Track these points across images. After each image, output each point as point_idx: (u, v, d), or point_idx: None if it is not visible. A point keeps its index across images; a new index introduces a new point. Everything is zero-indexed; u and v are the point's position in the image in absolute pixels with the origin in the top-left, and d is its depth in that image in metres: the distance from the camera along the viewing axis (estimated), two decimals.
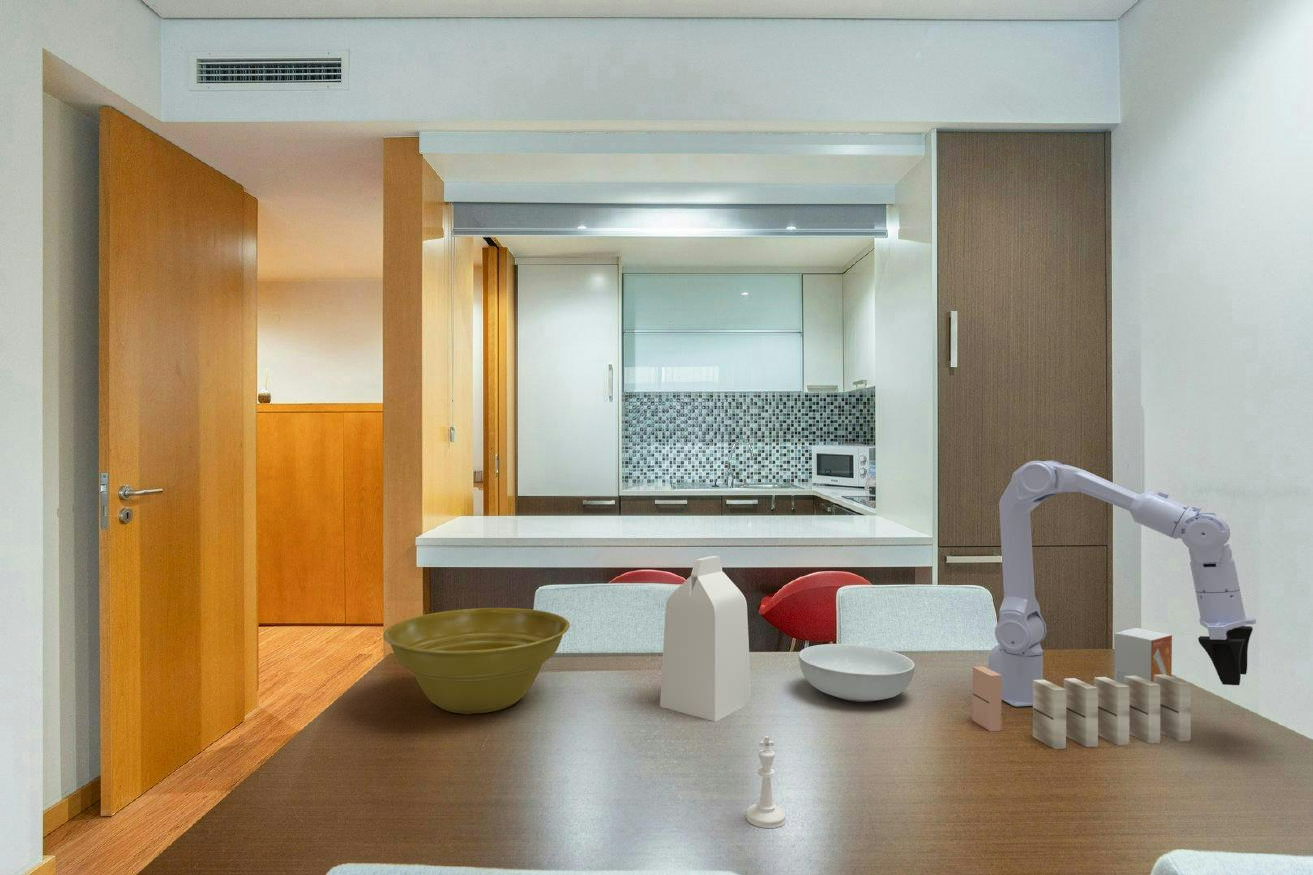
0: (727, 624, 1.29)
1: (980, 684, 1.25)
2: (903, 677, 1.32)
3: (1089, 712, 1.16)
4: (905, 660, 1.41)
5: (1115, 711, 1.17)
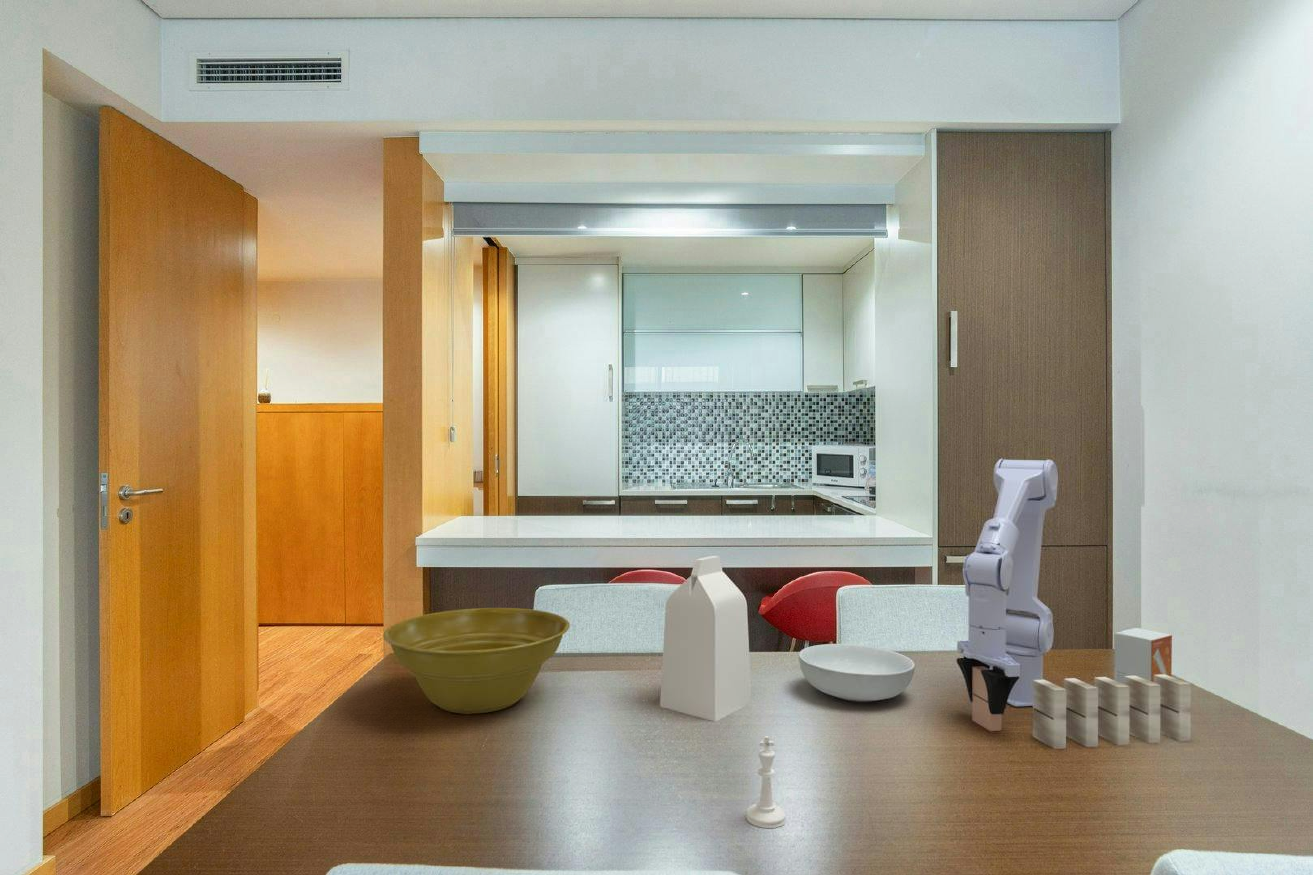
0: (727, 624, 1.29)
1: (980, 684, 1.25)
2: (903, 677, 1.32)
3: (1089, 712, 1.16)
4: (905, 660, 1.41)
5: (1115, 711, 1.17)
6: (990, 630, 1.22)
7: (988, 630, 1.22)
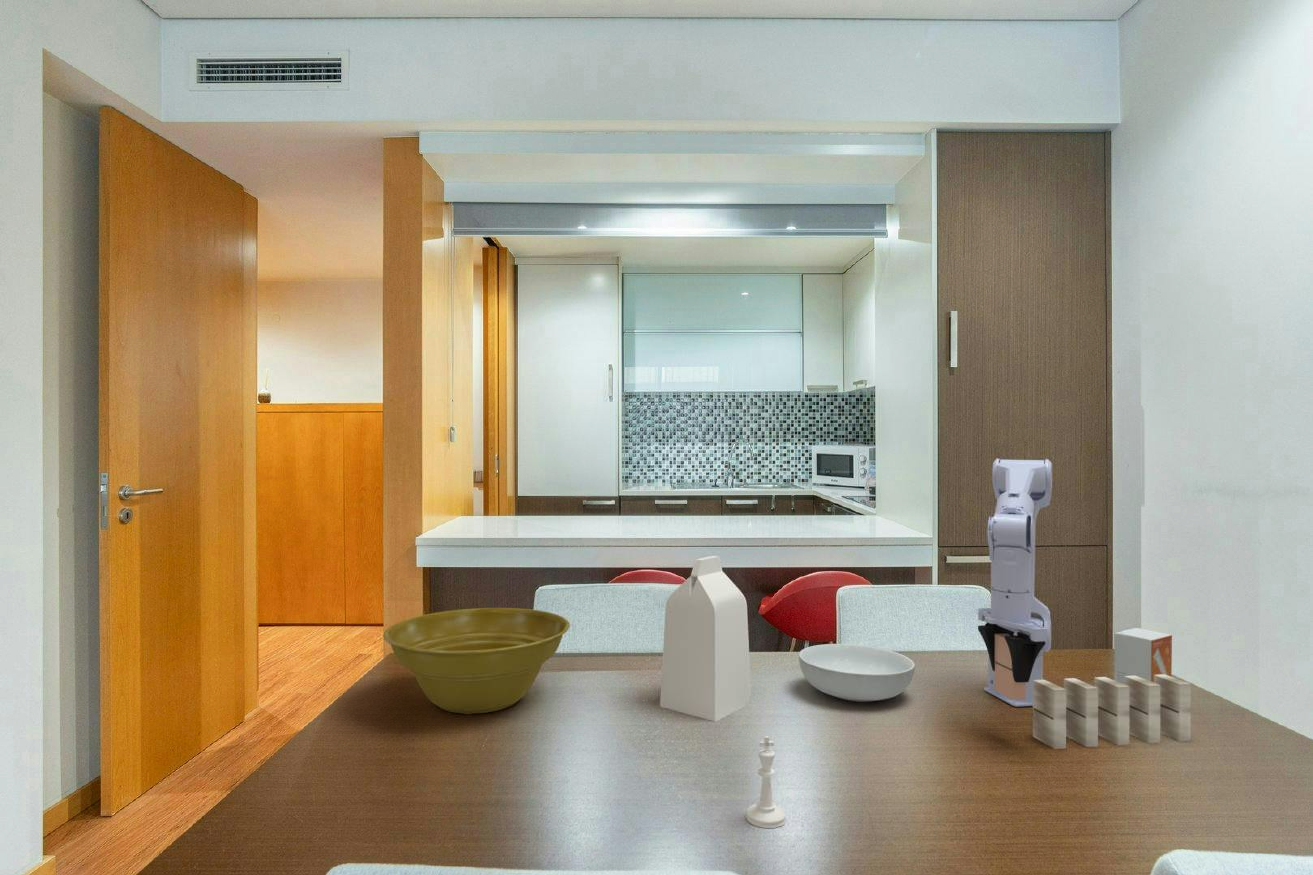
0: (727, 624, 1.29)
1: (1003, 651, 1.19)
2: (903, 677, 1.32)
3: (1089, 712, 1.16)
4: (905, 660, 1.41)
5: (1114, 711, 1.17)
6: (1014, 594, 1.16)
7: (1012, 594, 1.16)
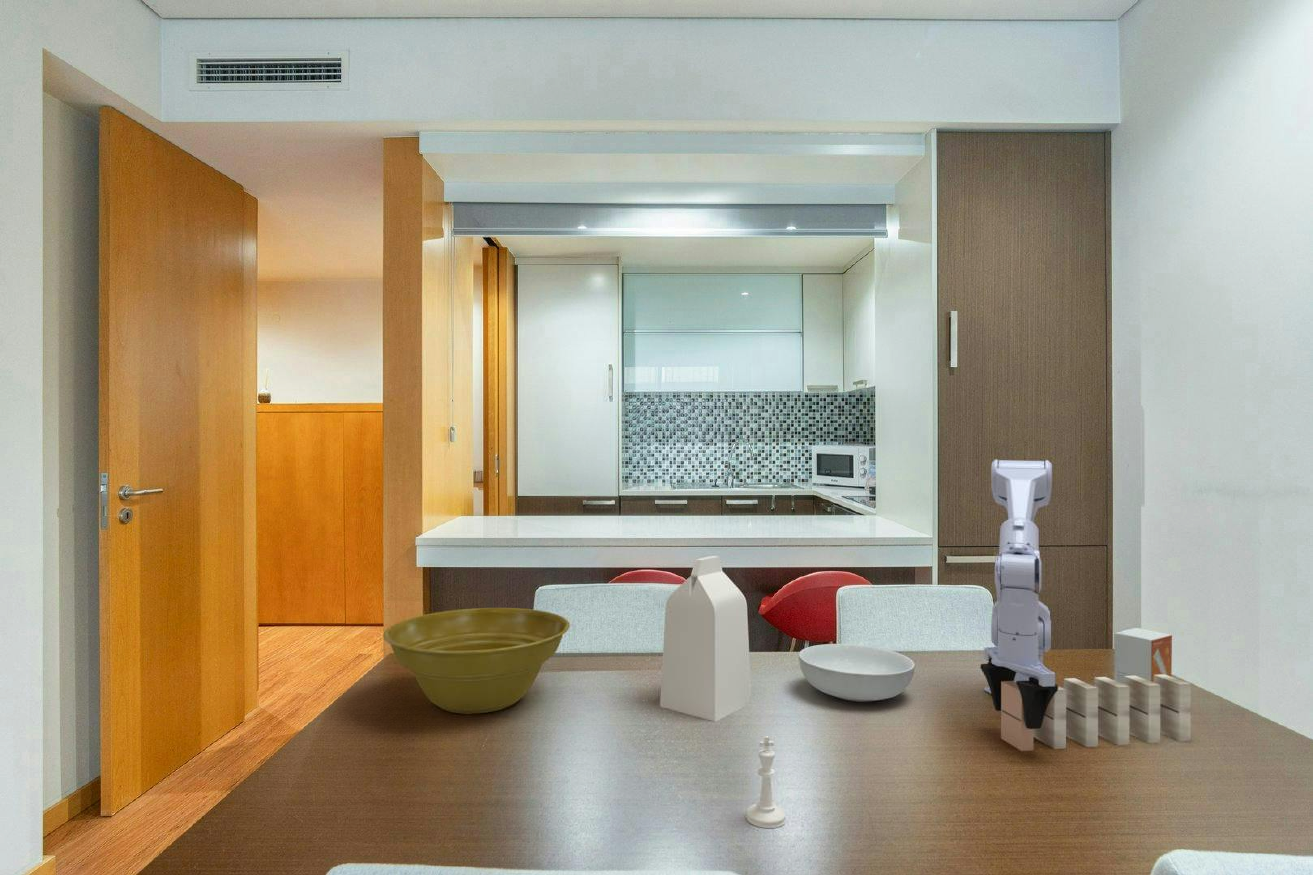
0: (727, 624, 1.29)
1: (1010, 700, 1.17)
2: (903, 677, 1.32)
3: (1089, 712, 1.16)
4: (905, 660, 1.41)
5: (1115, 711, 1.17)
6: (1022, 636, 1.14)
7: (1019, 636, 1.14)
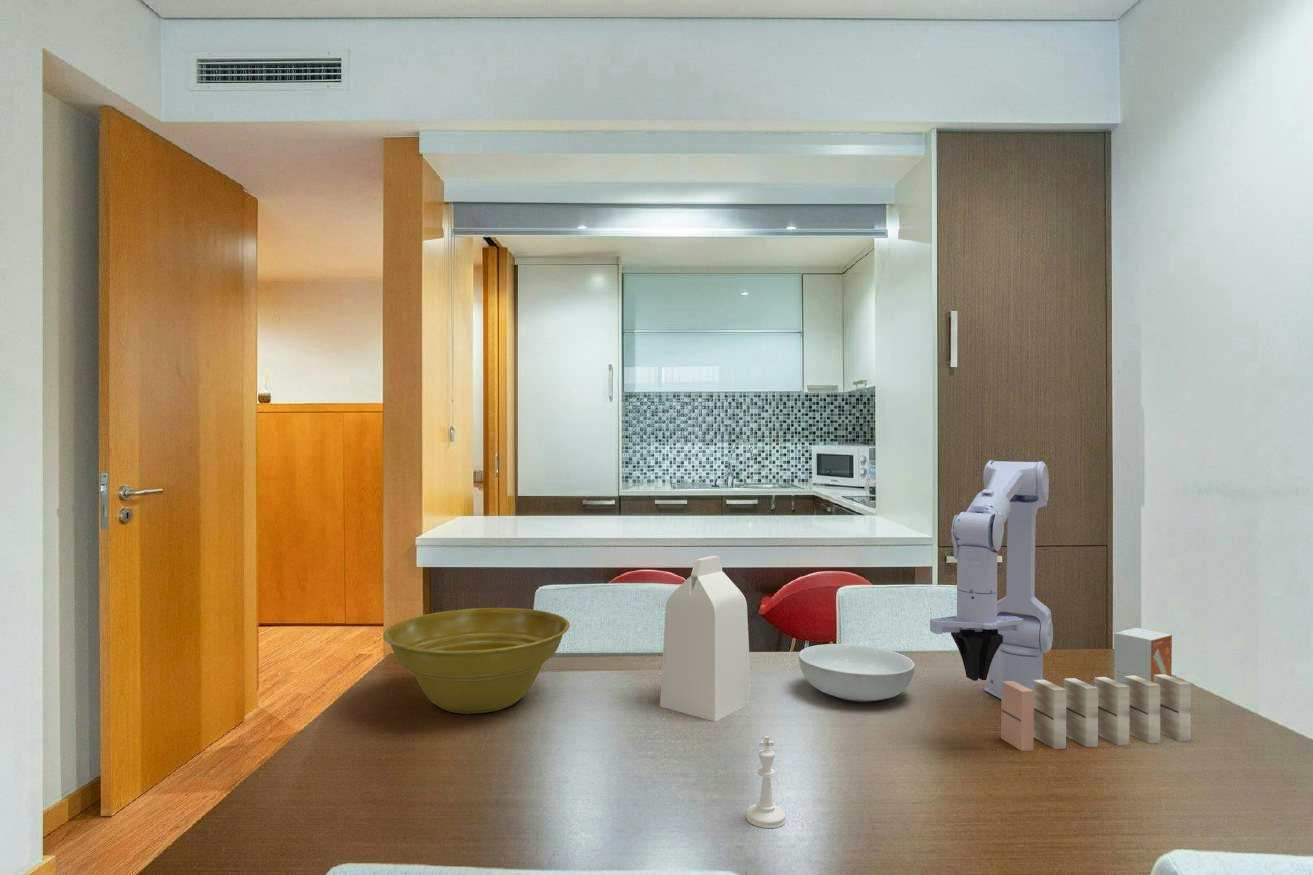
0: (727, 624, 1.29)
1: (1010, 700, 1.17)
2: (903, 677, 1.32)
3: (1089, 712, 1.16)
4: (905, 660, 1.41)
5: (1114, 711, 1.17)
6: (996, 592, 1.15)
7: (996, 592, 1.15)
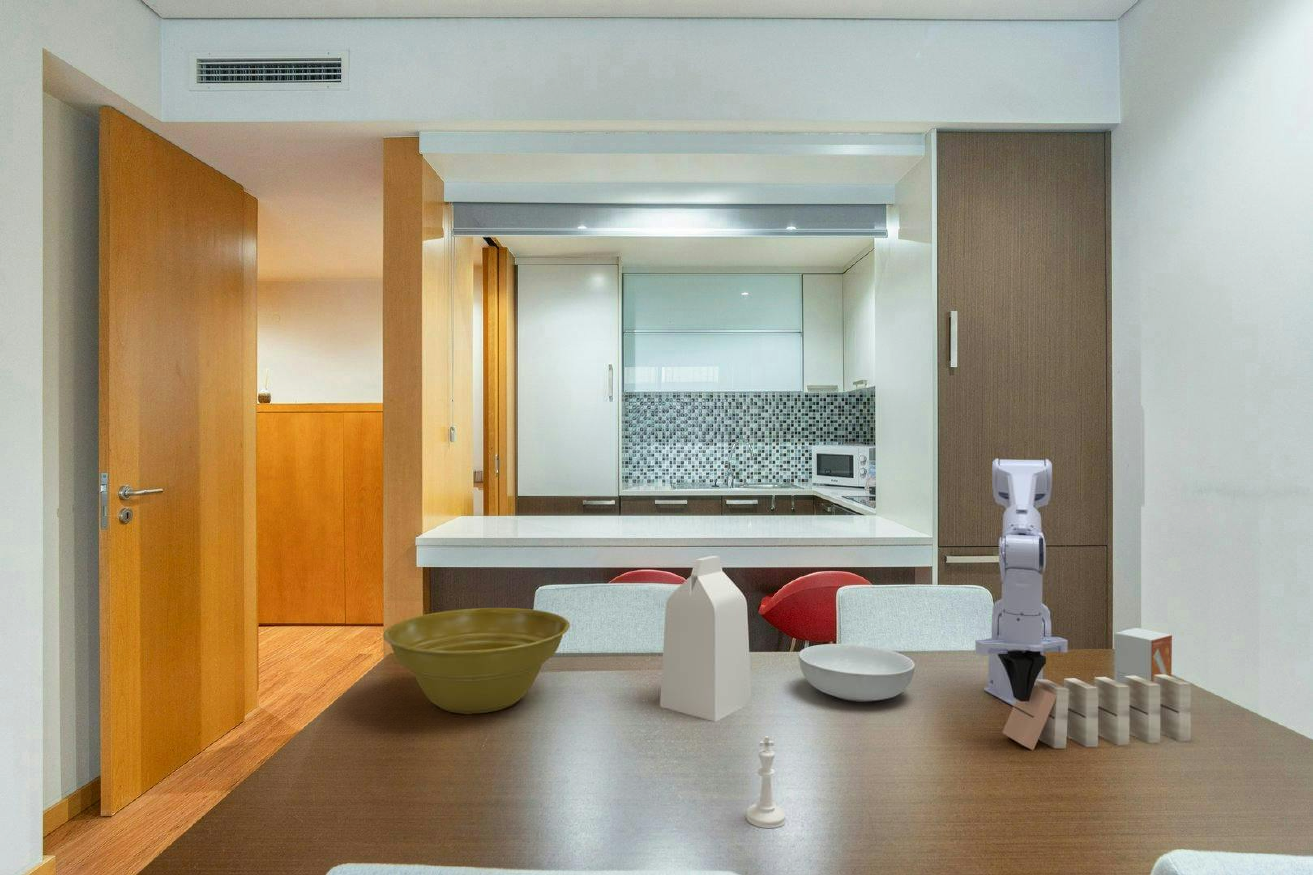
0: (727, 624, 1.29)
1: None
2: (903, 677, 1.32)
3: (1089, 712, 1.16)
4: (905, 660, 1.41)
5: (1115, 711, 1.17)
6: None
7: (1042, 614, 1.16)
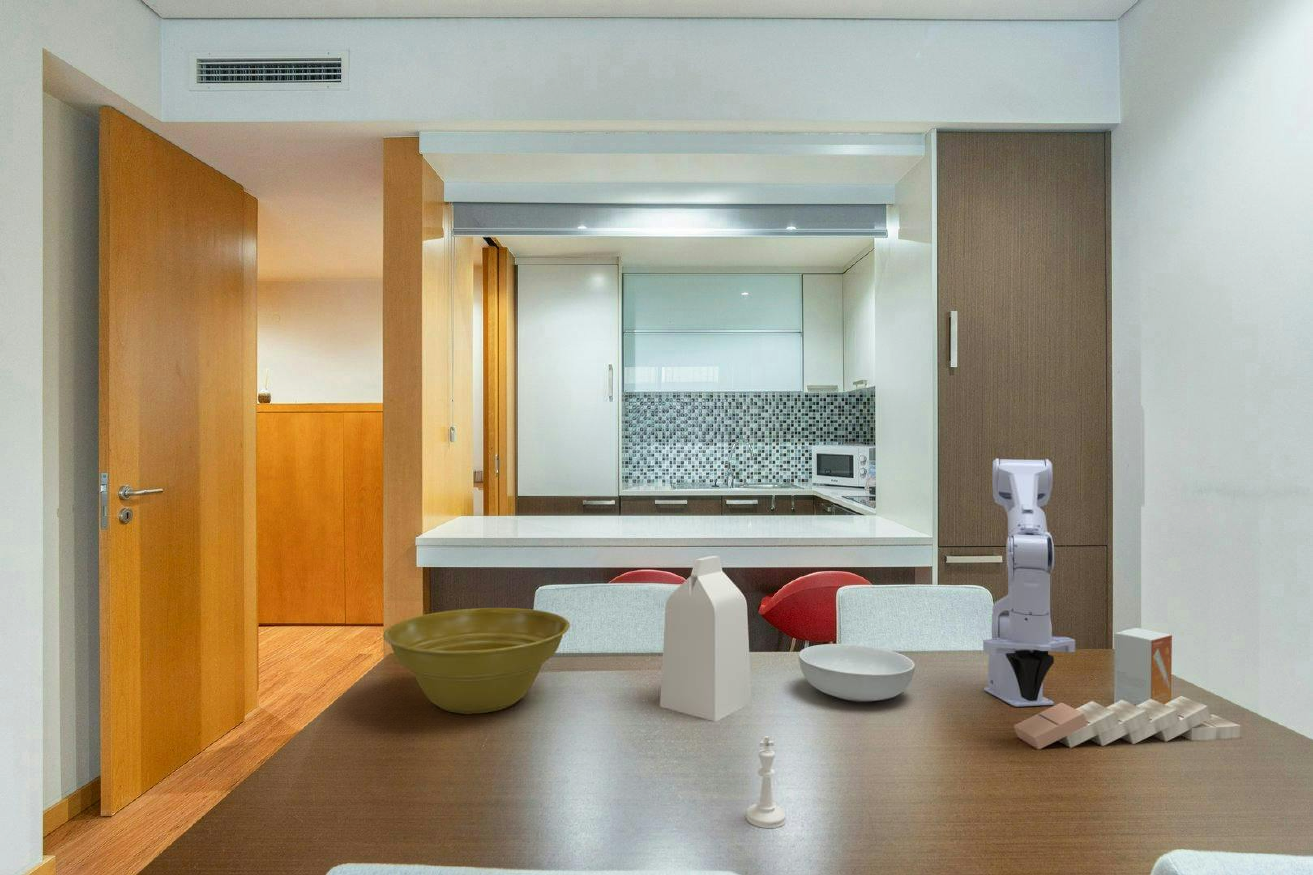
0: (727, 624, 1.29)
1: (1059, 713, 1.18)
2: (903, 677, 1.32)
3: (1127, 723, 1.17)
4: (905, 660, 1.41)
5: (1152, 718, 1.18)
6: (1049, 613, 1.17)
7: (1049, 614, 1.16)
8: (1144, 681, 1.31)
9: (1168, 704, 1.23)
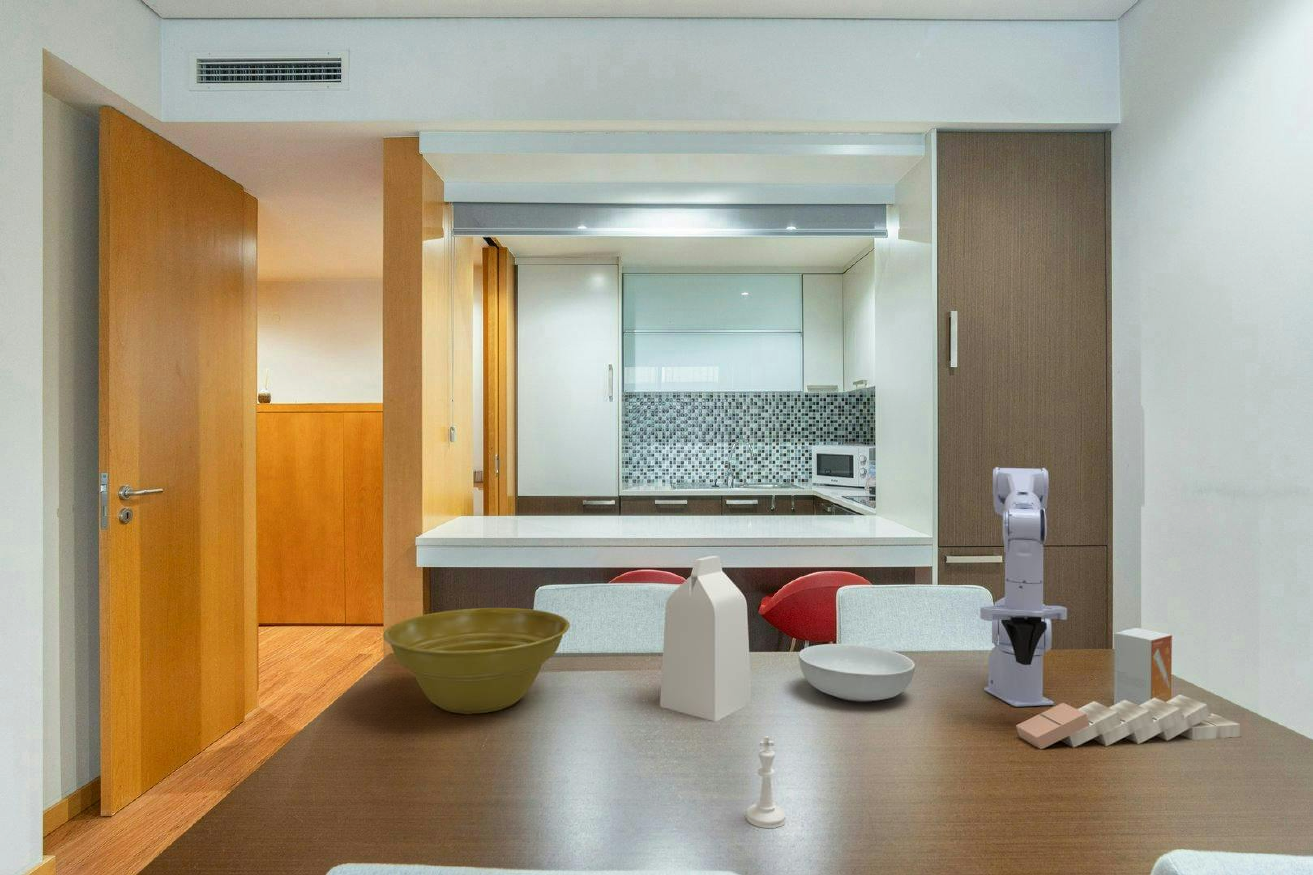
0: (727, 624, 1.29)
1: (1061, 713, 1.18)
2: (903, 677, 1.32)
3: (1131, 723, 1.17)
4: (905, 660, 1.41)
5: (1156, 717, 1.18)
6: (1042, 582, 1.24)
7: (1042, 583, 1.24)
8: (1144, 681, 1.31)
9: None
